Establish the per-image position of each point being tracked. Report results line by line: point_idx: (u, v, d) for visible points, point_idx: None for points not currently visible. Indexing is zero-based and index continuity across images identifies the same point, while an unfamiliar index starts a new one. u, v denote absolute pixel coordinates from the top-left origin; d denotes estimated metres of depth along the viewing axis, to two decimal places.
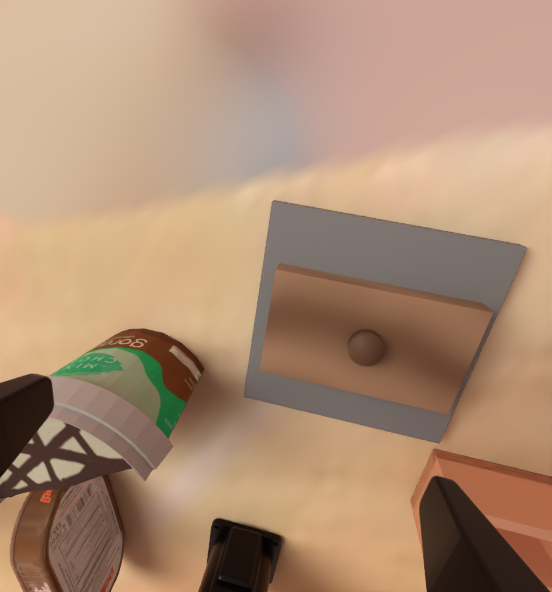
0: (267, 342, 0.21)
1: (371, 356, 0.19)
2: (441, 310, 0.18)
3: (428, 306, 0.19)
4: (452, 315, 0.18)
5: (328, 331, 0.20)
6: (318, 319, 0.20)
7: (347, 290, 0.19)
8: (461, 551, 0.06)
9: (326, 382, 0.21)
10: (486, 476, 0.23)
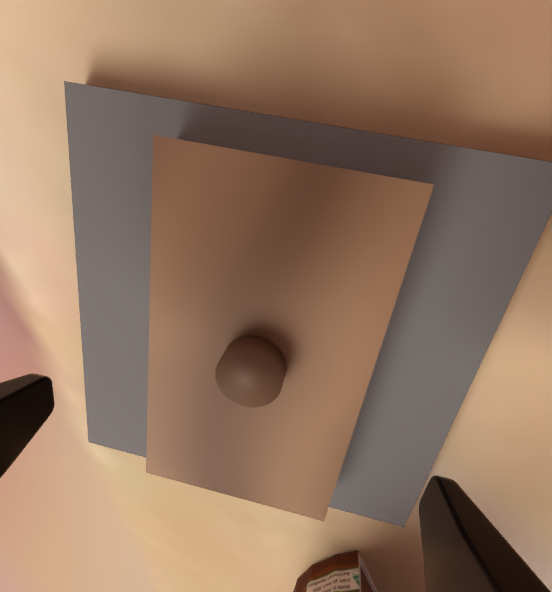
0: (266, 501, 0.13)
1: (258, 371, 0.10)
2: (165, 237, 0.09)
3: (162, 261, 0.10)
4: (172, 215, 0.09)
5: (235, 418, 0.11)
6: (215, 430, 0.12)
7: (158, 387, 0.11)
8: (461, 551, 0.06)
9: (343, 429, 0.11)
10: None
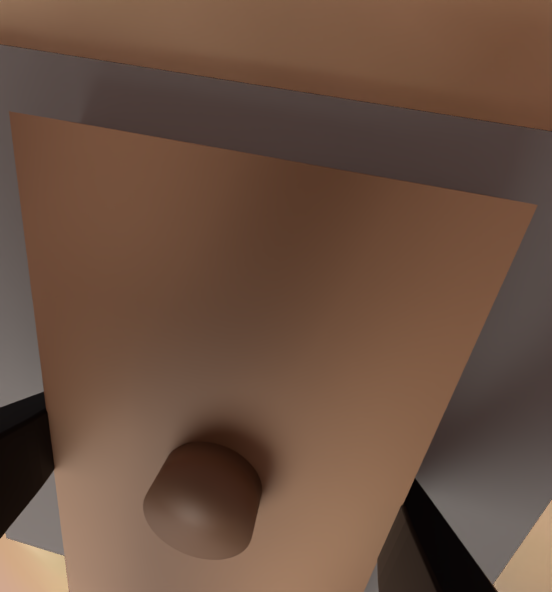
0: None
1: (212, 511, 0.06)
2: (53, 288, 0.06)
3: (54, 326, 0.06)
4: (60, 253, 0.05)
5: None
6: (160, 561, 0.08)
7: (73, 501, 0.08)
8: (404, 536, 0.06)
9: (352, 577, 0.07)
10: None
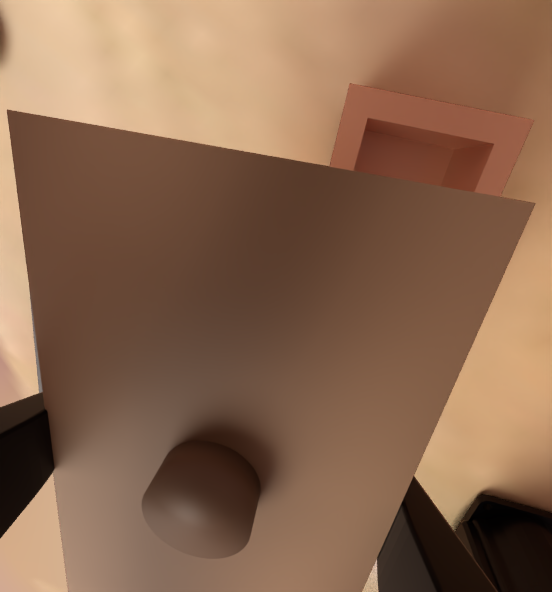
0: None
1: (210, 510, 0.06)
2: (52, 286, 0.06)
3: (53, 325, 0.06)
4: (59, 252, 0.05)
5: None
6: (159, 560, 0.08)
7: (72, 500, 0.08)
8: (404, 536, 0.06)
9: (351, 577, 0.07)
10: None
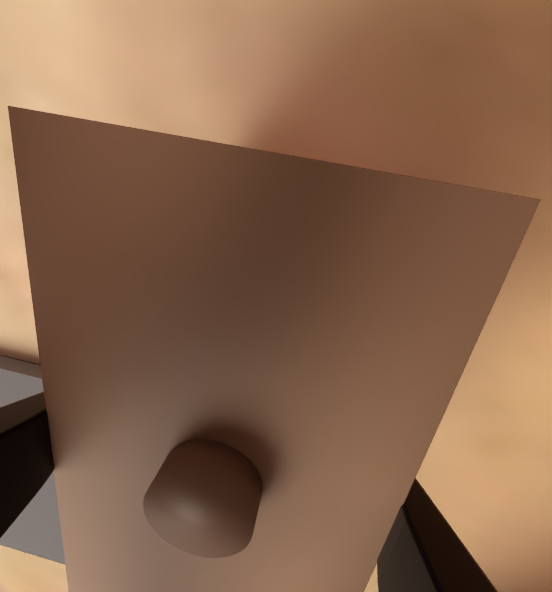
0: None
1: (212, 509, 0.06)
2: (53, 285, 0.06)
3: (54, 323, 0.06)
4: (60, 250, 0.05)
5: None
6: (161, 560, 0.08)
7: (73, 499, 0.08)
8: (404, 535, 0.06)
9: (353, 576, 0.07)
10: None
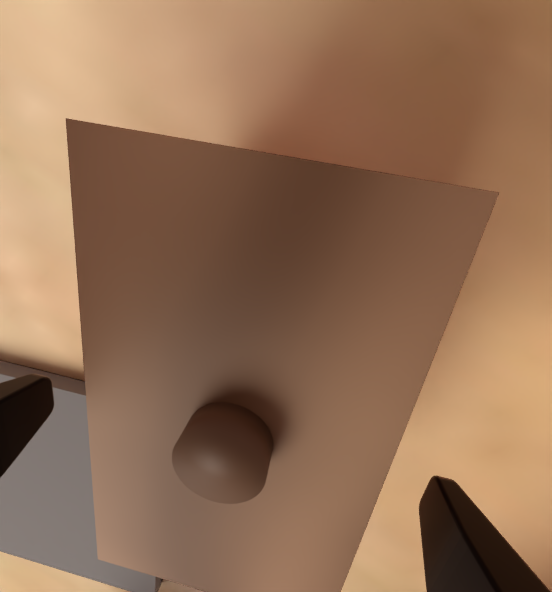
0: None
1: (231, 458, 0.07)
2: (96, 267, 0.07)
3: (95, 301, 0.07)
4: (104, 238, 0.06)
5: (207, 503, 0.08)
6: (182, 516, 0.09)
7: (104, 461, 0.09)
8: (461, 551, 0.06)
9: (352, 524, 0.08)
10: None
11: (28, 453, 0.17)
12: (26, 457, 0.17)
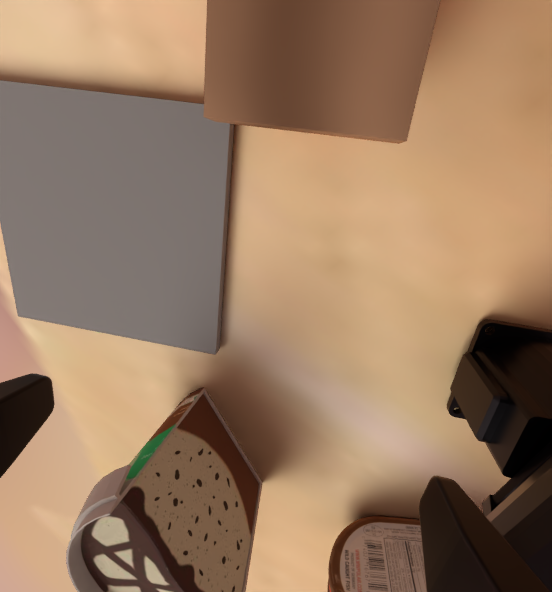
0: (341, 126, 0.11)
1: None
2: None
3: None
4: None
5: None
6: (285, 18, 0.10)
7: None
8: (461, 551, 0.06)
9: None
10: None
11: (103, 187, 0.19)
12: (101, 193, 0.19)
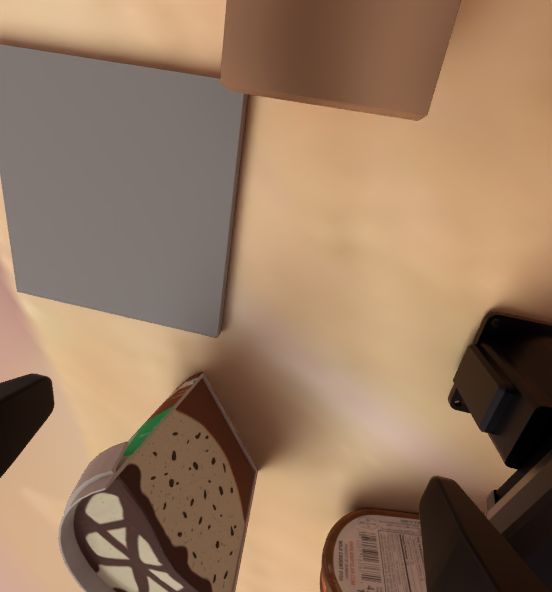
0: (360, 98, 0.11)
1: None
2: None
3: None
4: None
5: None
6: None
7: None
8: (461, 551, 0.06)
9: None
10: None
11: (110, 161, 0.18)
12: (108, 167, 0.18)
